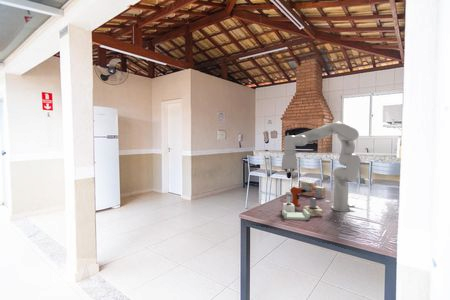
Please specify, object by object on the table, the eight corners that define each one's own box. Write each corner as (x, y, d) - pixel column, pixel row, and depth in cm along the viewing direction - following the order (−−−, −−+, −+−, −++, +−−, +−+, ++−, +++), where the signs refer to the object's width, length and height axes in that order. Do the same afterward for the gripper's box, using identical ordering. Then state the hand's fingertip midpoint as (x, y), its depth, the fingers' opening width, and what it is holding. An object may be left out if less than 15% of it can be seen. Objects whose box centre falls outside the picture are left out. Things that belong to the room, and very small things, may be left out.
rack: (305, 214, 158) (305, 209, 157) (309, 219, 148) (309, 213, 148) (281, 214, 159) (282, 208, 159) (284, 219, 149) (284, 213, 149)
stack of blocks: (325, 197, 205) (325, 184, 204) (321, 198, 201) (322, 184, 201) (304, 193, 222) (304, 180, 222) (300, 193, 218) (301, 181, 218)
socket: (317, 211, 165) (317, 206, 165) (322, 216, 155) (322, 210, 155) (303, 211, 166) (303, 205, 165) (307, 215, 156) (307, 210, 155)
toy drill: (312, 208, 168) (310, 187, 169) (289, 205, 182) (288, 187, 183) (315, 206, 171) (313, 187, 172) (293, 204, 185) (291, 186, 186)
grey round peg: (314, 212, 162) (315, 197, 162) (316, 214, 158) (317, 199, 158) (309, 212, 162) (309, 197, 162) (310, 214, 158) (311, 198, 158)
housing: (292, 209, 169) (292, 203, 168) (294, 212, 162) (294, 205, 161) (282, 209, 169) (282, 202, 169) (284, 212, 162) (284, 205, 162)
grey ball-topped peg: (291, 205, 167) (291, 192, 167) (292, 207, 163) (292, 193, 162) (285, 205, 168) (285, 192, 167) (286, 207, 163) (286, 193, 163)
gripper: (298, 152, 166) (298, 177, 167) (278, 152, 167) (277, 176, 168) (301, 153, 159) (300, 179, 160) (280, 152, 160) (279, 178, 161)
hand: (288, 178), depth 164 cm, fingers closed
